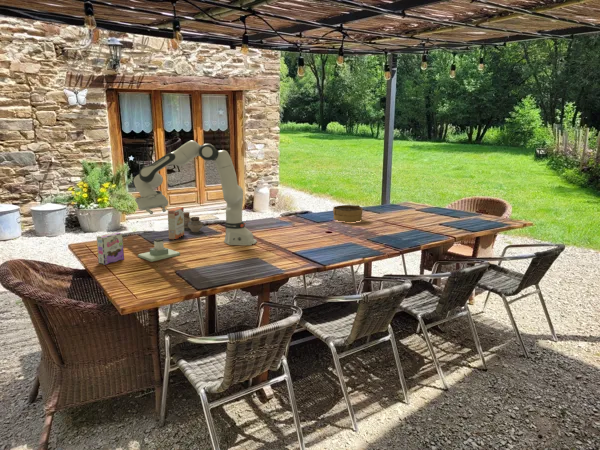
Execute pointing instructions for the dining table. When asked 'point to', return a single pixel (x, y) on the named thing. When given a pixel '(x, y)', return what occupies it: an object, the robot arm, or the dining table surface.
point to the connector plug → (158, 244)
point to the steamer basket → (347, 213)
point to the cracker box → (176, 222)
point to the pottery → (192, 222)
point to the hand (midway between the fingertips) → (158, 212)
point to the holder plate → (158, 254)
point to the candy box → (110, 248)
